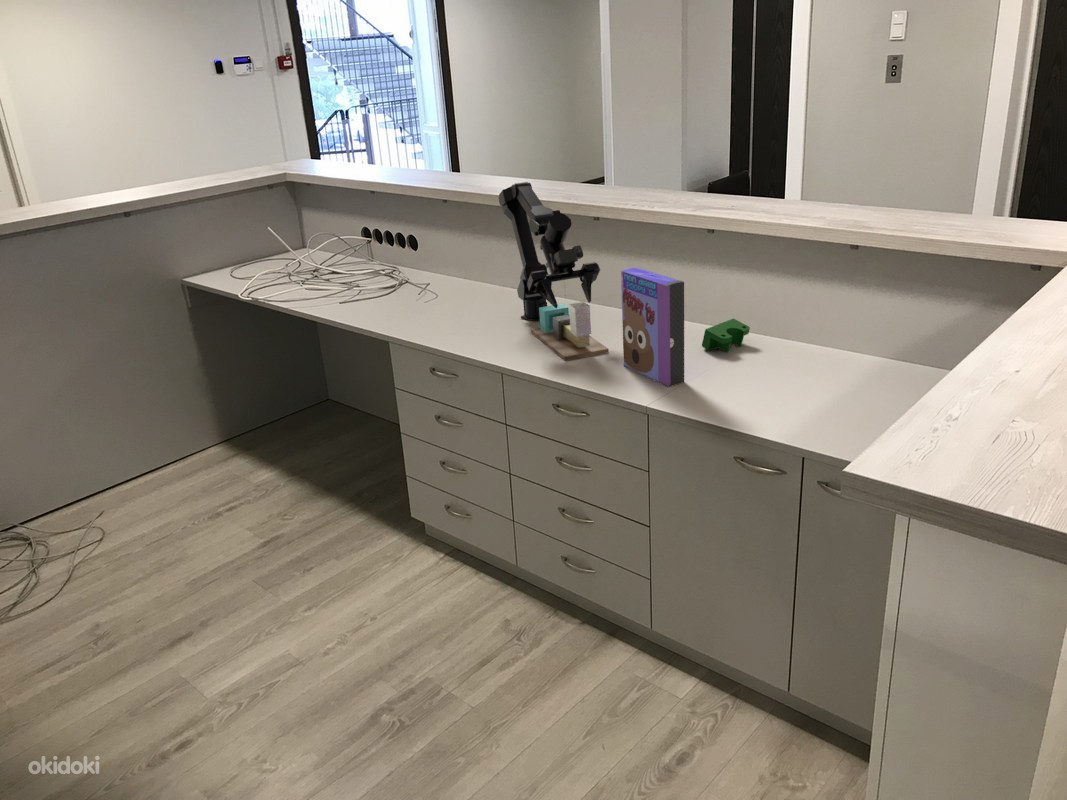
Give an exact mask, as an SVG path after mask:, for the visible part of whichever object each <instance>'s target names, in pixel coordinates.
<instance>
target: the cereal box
mask: <svg viewBox="0 0 1067 800" xmlns="http://www.w3.org/2000/svg"><path fill="white" fill-rule="evenodd" d="M620 277H621V279H620V280H621V281H620V284H621V315H622V318H621V319H622V340H623V341H622V346H623V348H622V349H623V350H622V351H623V353H622V354H623V367H625V368H626V369H629V370H631V371H633V372H635V373H638V374H639V375H642V376H644V377H646V378H647V379H650V380H652V381H654V380H655V381H654V382H656V383H658V382H659V383H658V384H660V383H661V384H660V385H662V384H663V385H662V386H664V385H665V387H667V388H669V387H672V385H673V386H676V385H679V383H680V384H683V383H685V281H682V280H679V279H676V278H673V277H671V276H670V277H669V276H666V275H662V274H660V273H656V272H653V271H650V270H647V269H643V268H640V267H631V268H627V269H623V270H621V271H620ZM682 382H683V383H682ZM675 384H676V385H675ZM668 386H669V387H668Z"/></svg>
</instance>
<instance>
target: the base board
mask: <svg viewBox="0 0 1067 800" xmlns="http://www.w3.org/2000/svg"><path fill="white" fill-rule="evenodd" d="M530 333H531V334H532V335H533V336H534V337H536V338H537V339H538V340H539V341H541V342H542V344H544V345H545V346H547V347H548V349H550V350H551V351H553V352H554V353H555V354H556V355H557V356H559V357H560V358H561V359H562V360H564V361H566V362H567V361H571V360H575V359H582V358H587V357H592V356H596V355H602V354H609V352H610V350H609V348H608V347H607V346H606V345H604V344H603V343H601V342H600V341H598V340H597V339H595V338H594V337H593V336H592V335H591V334H589V340H590V346H585V347H580V348H579V347H577V346H576V345H575V344H573V343H572V342H571V341H569V340H568V339H566V340H560V341H559V340H558V339H556V338H555V337H554V333H553V332H548V333H545V332H544V331H543V330H541V329H540V327H537V328H532V329H530Z"/></svg>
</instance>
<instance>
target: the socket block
mask: <svg viewBox="0 0 1067 800" xmlns="http://www.w3.org/2000/svg"><path fill="white" fill-rule="evenodd" d="M557 305H558V307H557V308H555V307H554V306H553V305H552V304H551V305H547V306H546V307H540V308H539V314H540V320H539V324H540V325H539V326H540V327H539V328H540V329H541V330H543V331H544V332H545V333H548V332H553V317H557V316H563V315H569V314H570V312H569V306H567V305H566V304H564V303H557Z"/></svg>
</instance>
